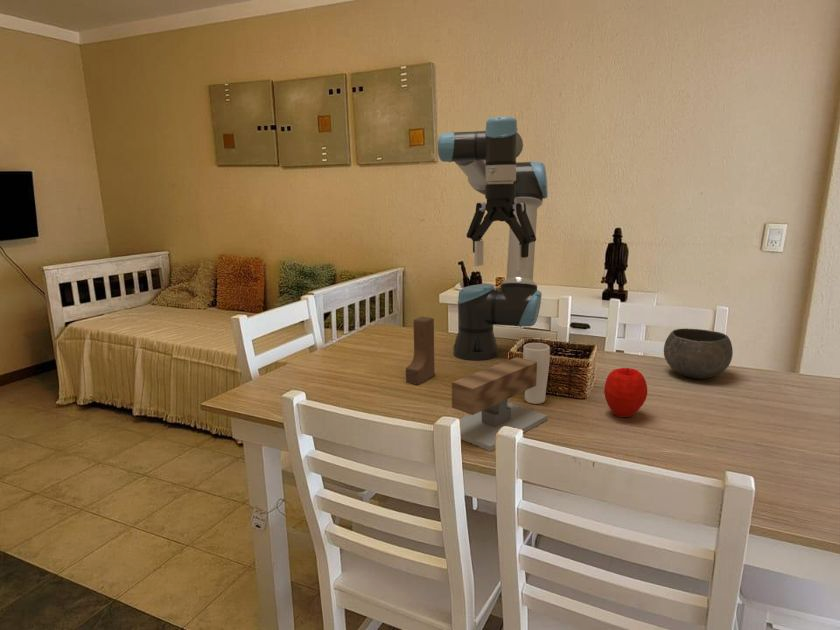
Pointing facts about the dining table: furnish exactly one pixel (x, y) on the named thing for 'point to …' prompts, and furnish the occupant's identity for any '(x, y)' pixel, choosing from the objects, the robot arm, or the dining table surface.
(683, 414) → the dining table surface
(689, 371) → the bowl
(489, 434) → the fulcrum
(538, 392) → the drinking glass
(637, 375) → the apple
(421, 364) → the wooden block
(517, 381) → the beam
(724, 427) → the dining table surface
